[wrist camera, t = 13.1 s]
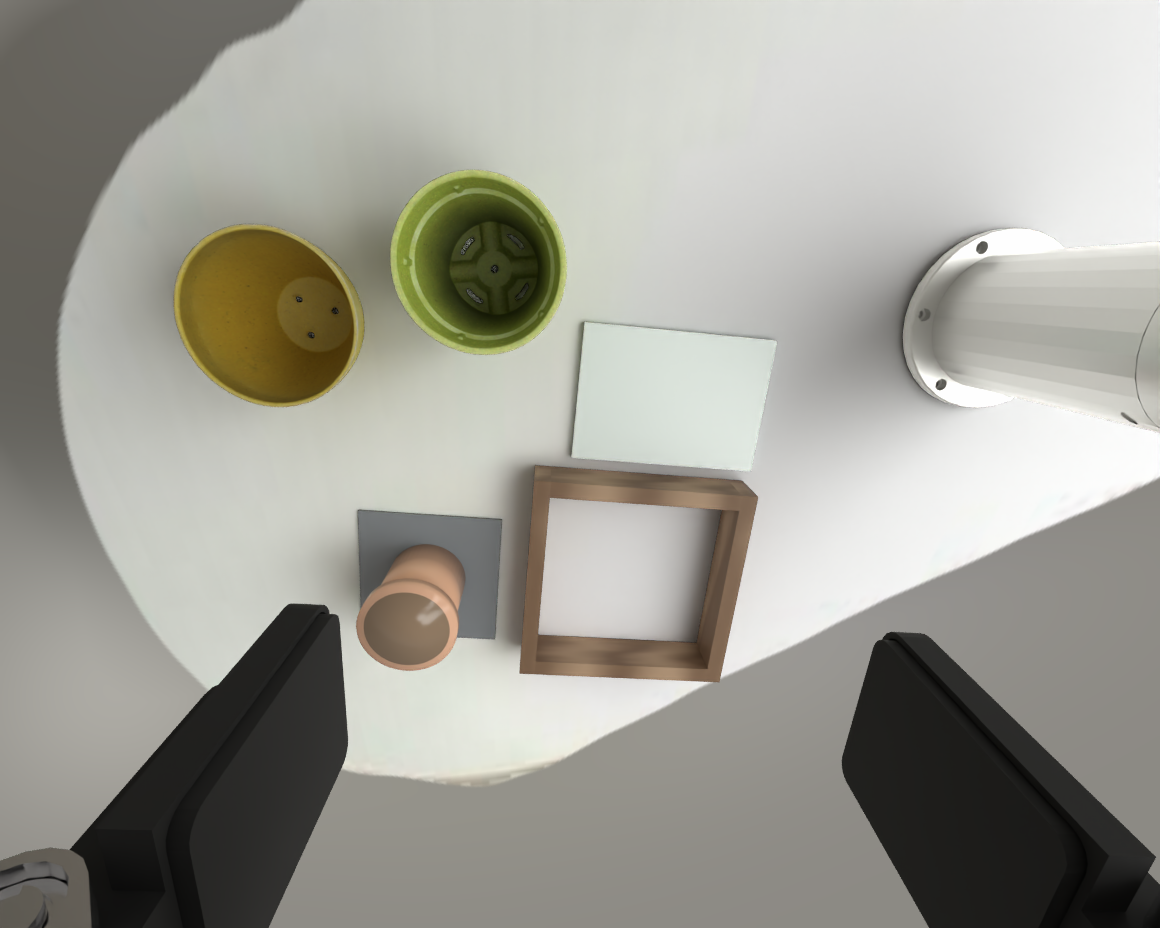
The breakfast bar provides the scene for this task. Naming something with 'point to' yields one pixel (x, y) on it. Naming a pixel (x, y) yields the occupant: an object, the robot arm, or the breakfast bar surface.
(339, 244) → the breakfast bar surface
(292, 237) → the flower pot
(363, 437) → the breakfast bar surface
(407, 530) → the slate mat
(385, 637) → the terracotta pot
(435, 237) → the plant pot
